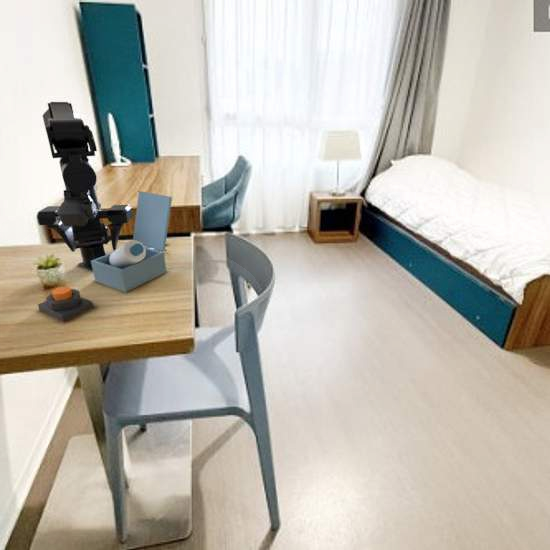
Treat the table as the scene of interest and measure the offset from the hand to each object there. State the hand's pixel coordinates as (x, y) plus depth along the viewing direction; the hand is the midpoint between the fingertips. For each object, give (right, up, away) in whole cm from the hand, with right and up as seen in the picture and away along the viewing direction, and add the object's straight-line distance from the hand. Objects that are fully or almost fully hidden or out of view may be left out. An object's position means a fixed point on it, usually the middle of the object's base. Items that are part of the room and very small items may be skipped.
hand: (94, 250), depth 85 cm
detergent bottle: (+1, -2, +12) cm, 12 cm away
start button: (-5, -11, -4) cm, 12 cm away
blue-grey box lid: (+9, +9, +13) cm, 18 cm away
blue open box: (+4, -6, +12) cm, 14 cm away
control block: (-5, -13, -3) cm, 15 cm away
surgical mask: (-1, +1, +27) cm, 27 cm away
